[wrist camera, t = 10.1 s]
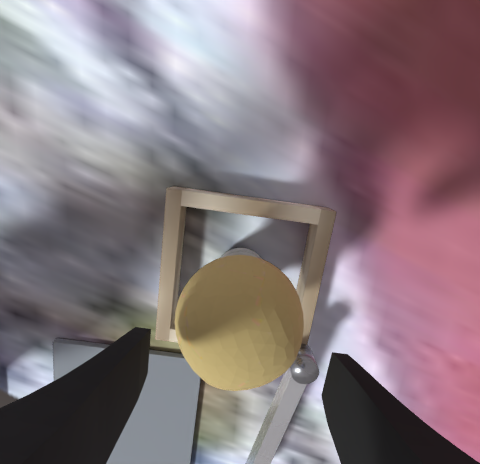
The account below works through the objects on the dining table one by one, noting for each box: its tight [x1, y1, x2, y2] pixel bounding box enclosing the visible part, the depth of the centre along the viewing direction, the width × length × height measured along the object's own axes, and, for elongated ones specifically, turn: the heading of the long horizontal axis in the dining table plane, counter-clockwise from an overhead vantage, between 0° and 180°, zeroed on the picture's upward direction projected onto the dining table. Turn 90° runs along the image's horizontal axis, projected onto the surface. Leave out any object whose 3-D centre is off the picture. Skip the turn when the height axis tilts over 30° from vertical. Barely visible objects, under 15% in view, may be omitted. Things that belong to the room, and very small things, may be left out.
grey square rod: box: [246, 343, 319, 464], centre depth 20 cm, size 15×2×2 cm, turn 162°
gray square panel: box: [53, 338, 201, 464], centre depth 23 cm, size 12×12×1 cm
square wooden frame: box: [155, 186, 336, 345], centre depth 20 cm, size 11×11×2 cm
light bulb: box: [175, 248, 304, 391], centre depth 16 cm, size 6×6×10 cm
